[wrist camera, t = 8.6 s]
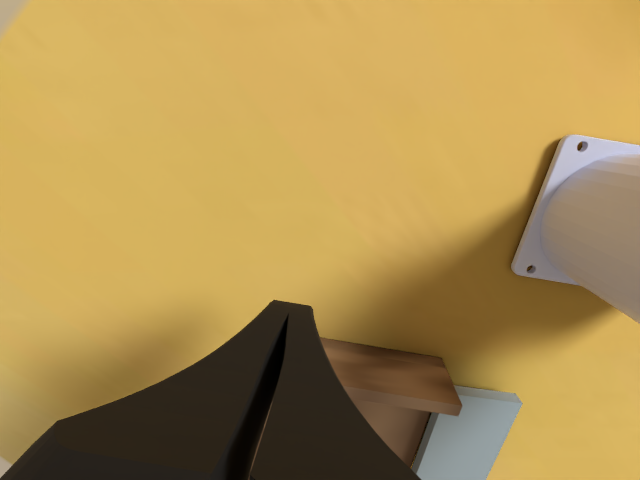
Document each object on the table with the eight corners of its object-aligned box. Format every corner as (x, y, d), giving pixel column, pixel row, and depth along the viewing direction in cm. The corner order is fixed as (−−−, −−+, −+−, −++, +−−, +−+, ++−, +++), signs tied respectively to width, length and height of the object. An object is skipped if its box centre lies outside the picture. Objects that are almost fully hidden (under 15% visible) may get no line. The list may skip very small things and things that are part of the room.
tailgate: (442, 383, 21) (515, 393, 21) (408, 476, 24) (473, 483, 24) (446, 393, 20) (522, 403, 21) (411, 487, 23) (478, 495, 24)
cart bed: (441, 358, 22) (462, 405, 18) (402, 470, 26) (413, 529, 22) (267, 328, 22) (252, 370, 18) (252, 445, 26) (238, 500, 22)
